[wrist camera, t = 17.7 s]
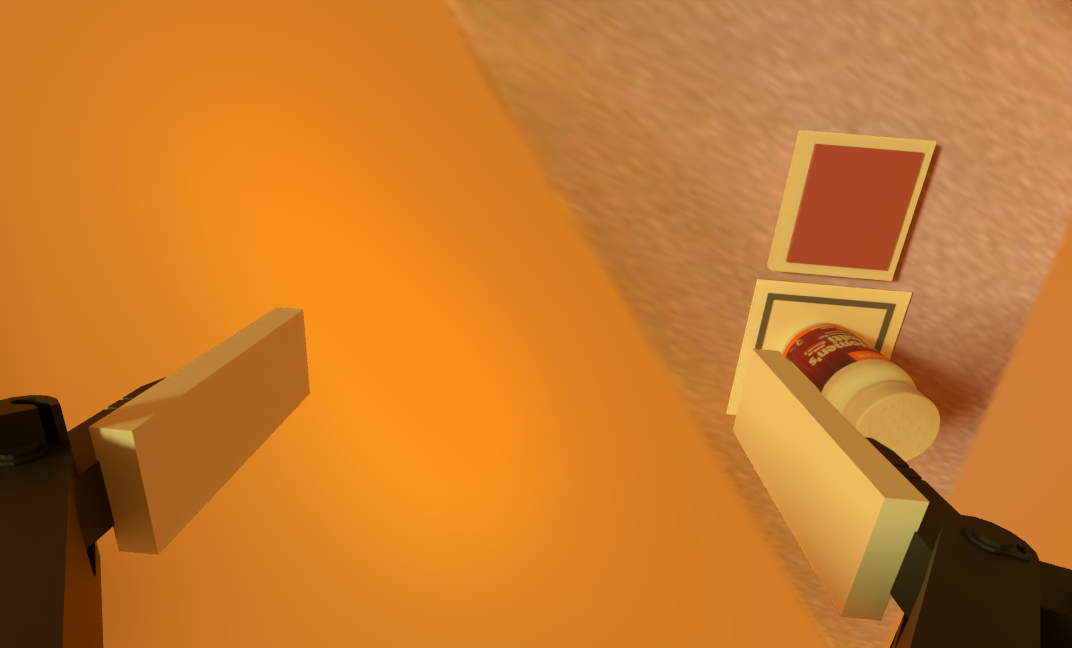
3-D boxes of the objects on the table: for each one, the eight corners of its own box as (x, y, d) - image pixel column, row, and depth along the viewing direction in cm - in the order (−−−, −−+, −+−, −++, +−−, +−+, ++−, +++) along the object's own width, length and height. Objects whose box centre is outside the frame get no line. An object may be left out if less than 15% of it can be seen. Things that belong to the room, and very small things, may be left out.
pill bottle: (843, 308, 42) (940, 369, 31) (862, 372, 44) (960, 451, 33) (767, 338, 43) (835, 407, 32) (788, 399, 45) (860, 484, 34)
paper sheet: (757, 278, 42) (758, 279, 41) (910, 291, 41) (913, 292, 41) (726, 412, 46) (727, 414, 45) (865, 425, 46) (867, 426, 45)
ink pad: (798, 130, 38) (808, 130, 36) (925, 140, 38) (939, 141, 36) (766, 266, 41) (773, 271, 40) (882, 276, 41) (894, 281, 40)
